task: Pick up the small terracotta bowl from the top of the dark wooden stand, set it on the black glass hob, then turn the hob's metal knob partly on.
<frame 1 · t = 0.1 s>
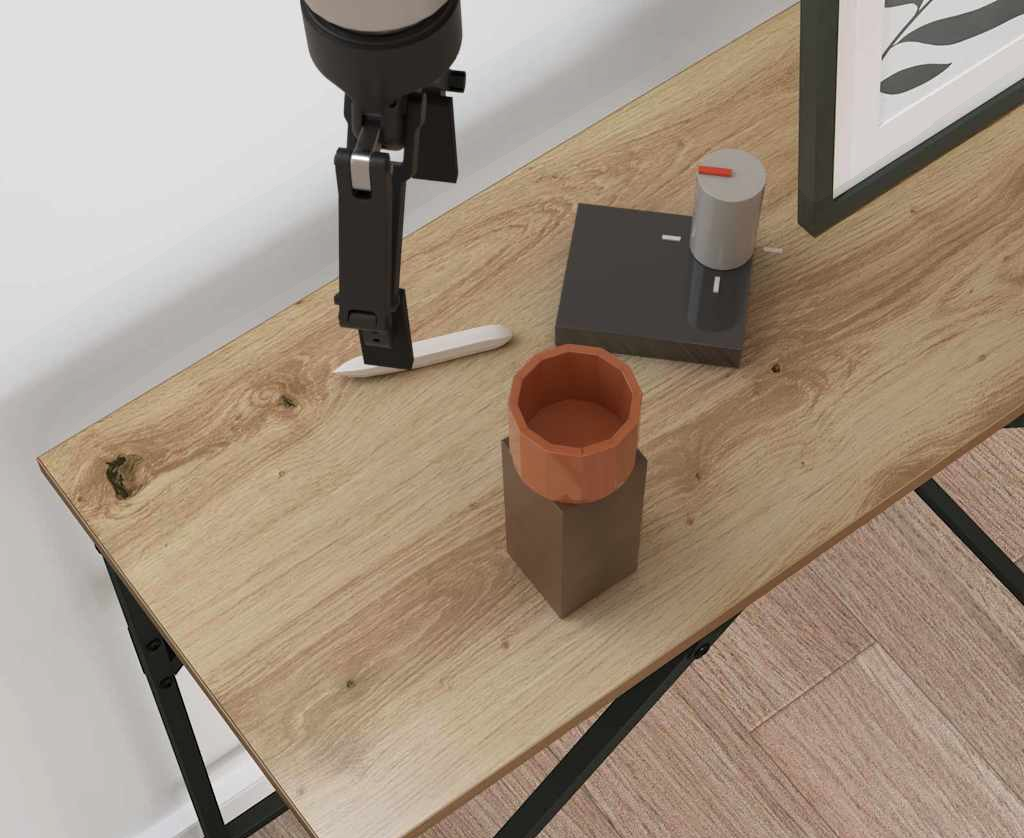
hand: (413, 266, 94), 26 cm above the table, tool pointing down, fingers open, 13 cm apart
knob: (727, 209, 120), point 7 cm above the table, hinge at 0.0°
bowl: (574, 449, 101), point 15 cm above the table, touching stand
stove: (656, 293, 125), on the table
pen: (424, 361, 123), on the table
stand: (571, 560, 114), on the table
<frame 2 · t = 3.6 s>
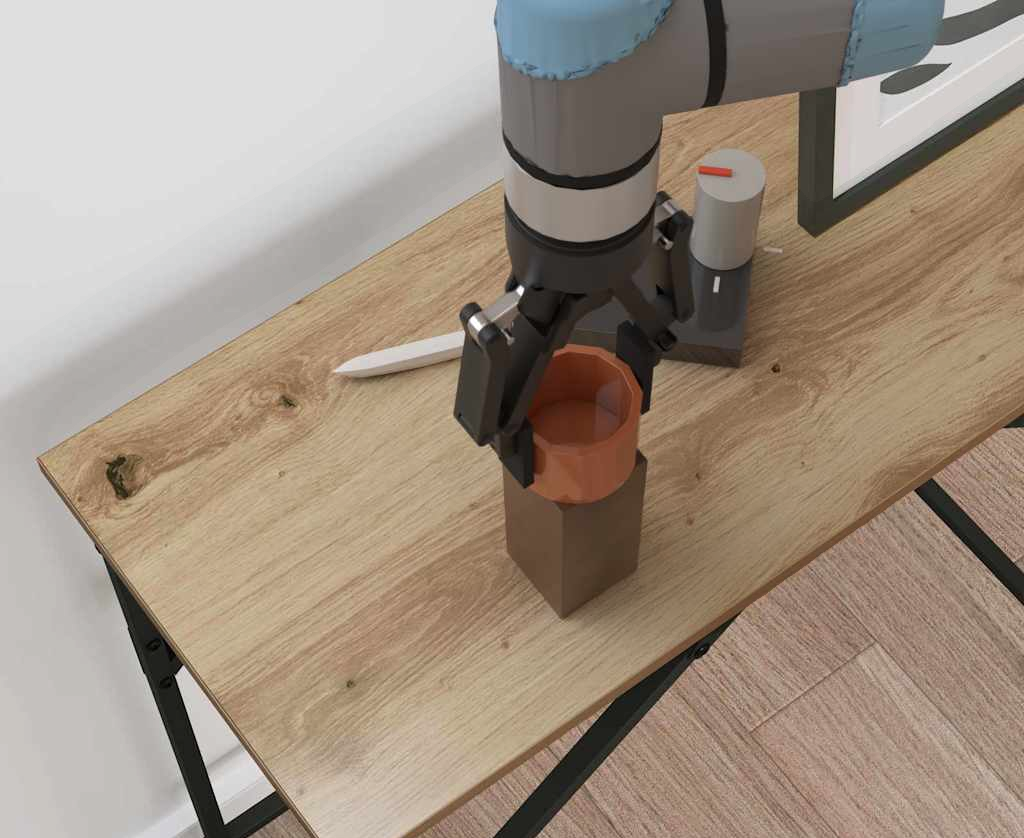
hand: (574, 434, 99), 17 cm above the table, tool pointing down, fingers closed on bowl, 8 cm apart
bowl: (574, 449, 101), point 15 cm above the table, touching gripper, stand
everything else where it was.
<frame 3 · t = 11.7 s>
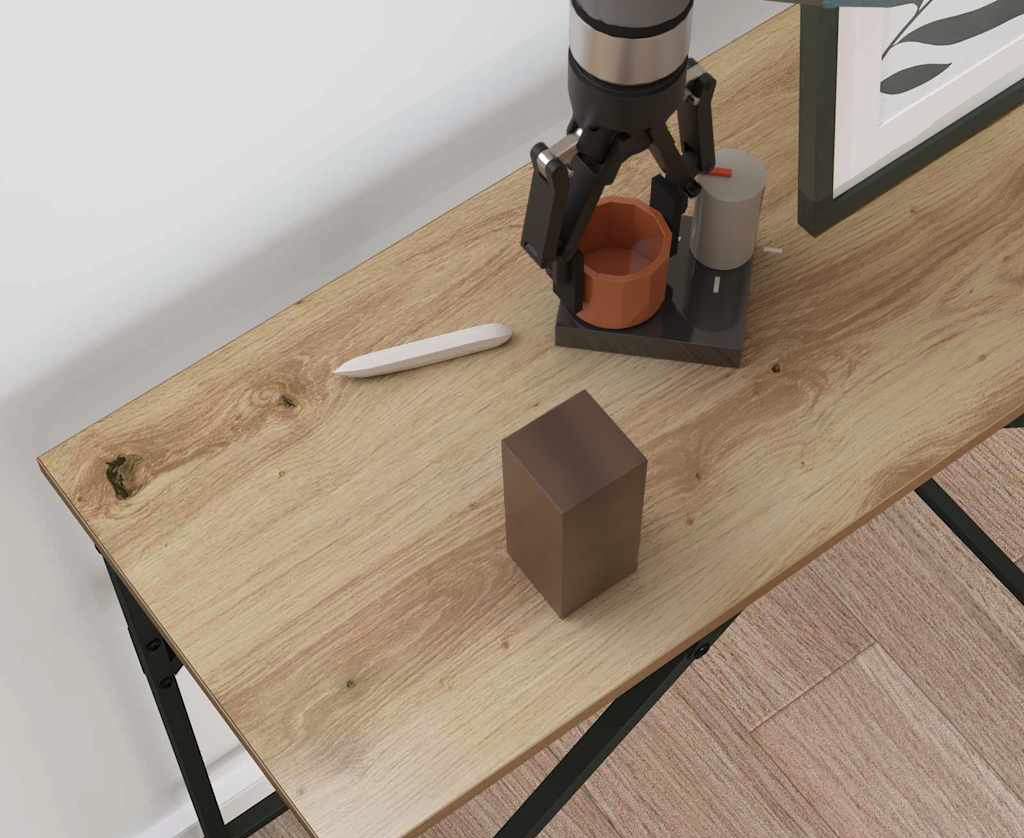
hand: (615, 272, 120), 5 cm above the table, tool pointing down, fingers closed on bowl, 8 cm apart
knob: (727, 209, 120), point 7 cm above the table, hinge at -0.1°, touching gripper
bowl: (614, 287, 122), point 3 cm above the table, touching gripper
everything else where it was.
when the fingers open (6 cm above the table, at t = 18.0 s): bowl drops 1 cm, resting on stove.
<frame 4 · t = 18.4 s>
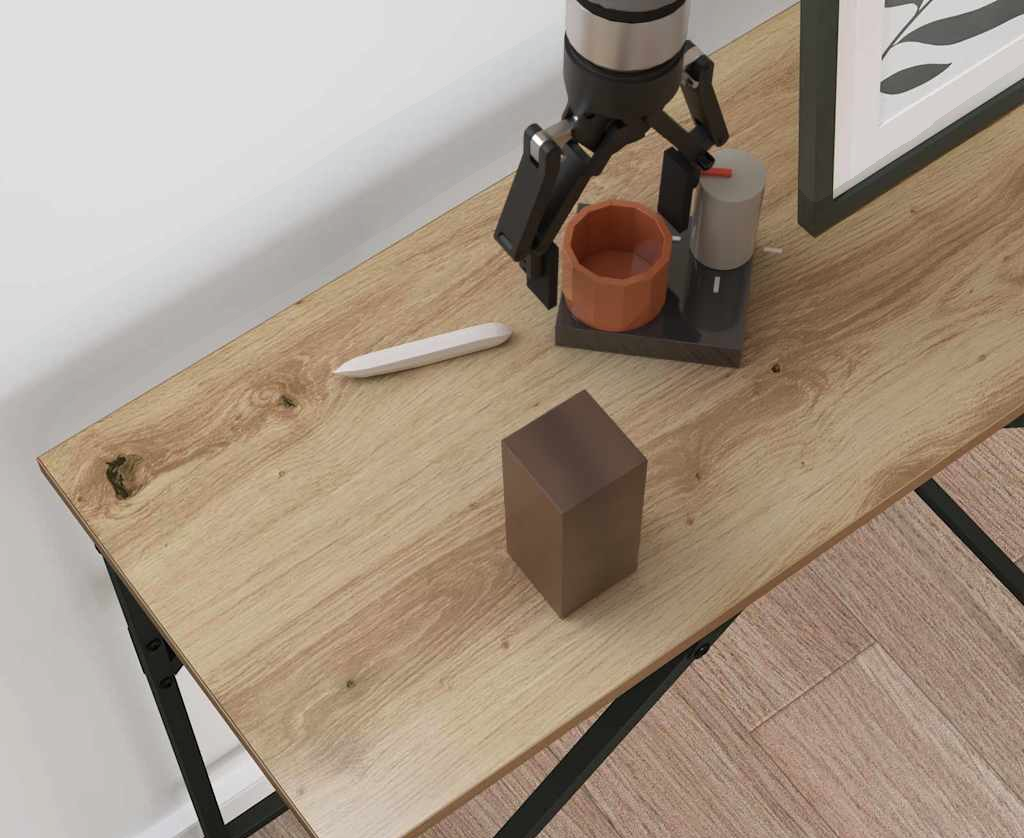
hand: (607, 257, 118), 7 cm above the table, tool pointing down, fingers open, 11 cm apart
knob: (727, 209, 120), point 7 cm above the table, hinge at 2.0°, touching gripper
bowl: (614, 290, 122), point 3 cm above the table, touching stove
everything else where it was.
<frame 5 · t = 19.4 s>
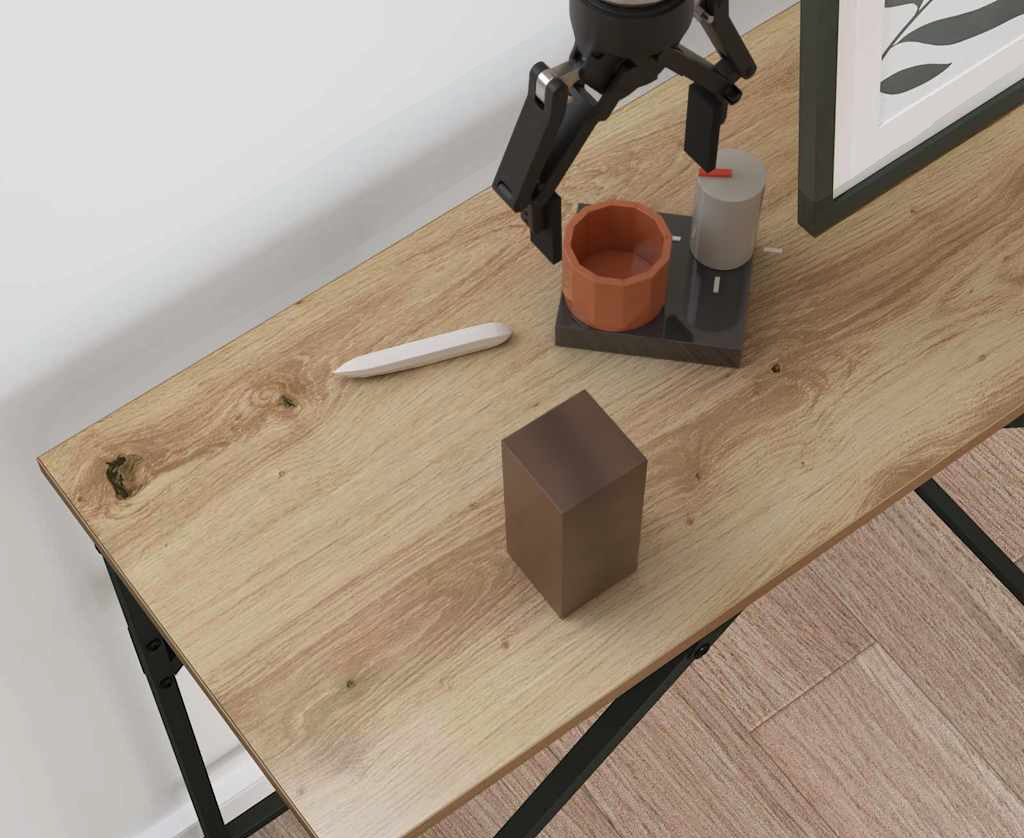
hand: (624, 204, 113), 13 cm above the table, tool pointing down, fingers open, 13 cm apart
knob: (727, 209, 120), point 7 cm above the table, hinge at 6.1°
everything else where it was.
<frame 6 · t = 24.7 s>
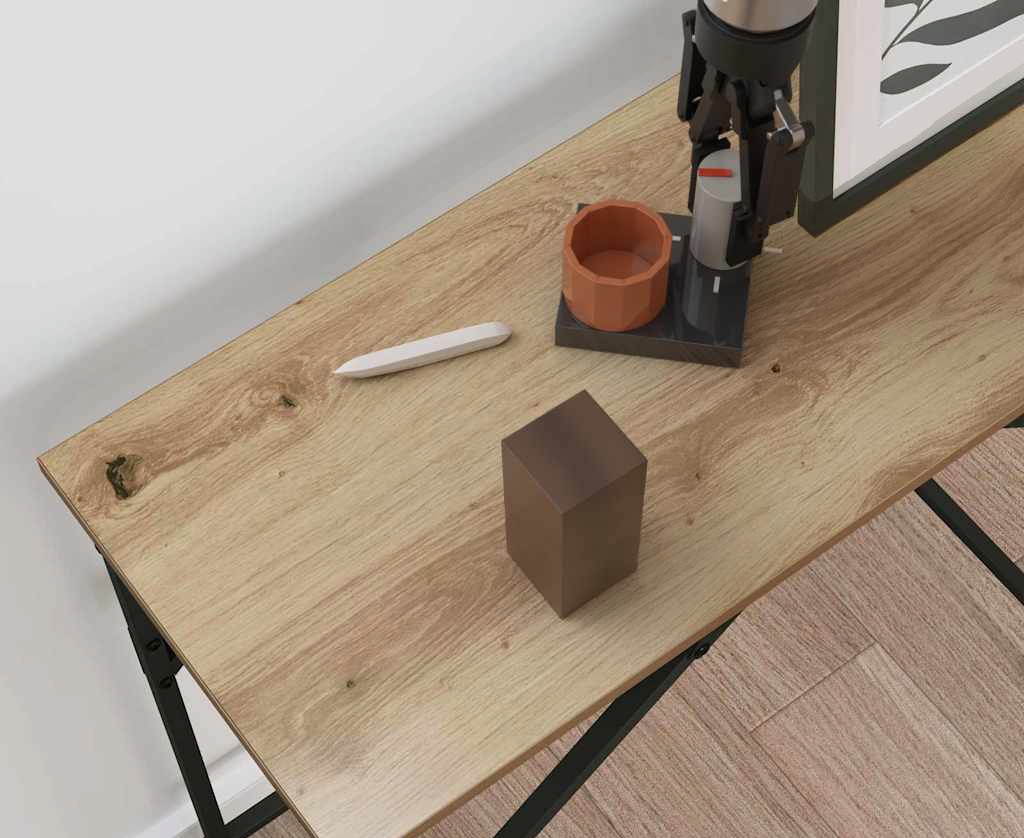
hand: (724, 230, 122), 4 cm above the table, tool pointing down, fingers closed on knob, 5 cm apart
knob: (727, 209, 120), point 7 cm above the table, hinge at 6.0°, touching gripper
everything else where it was.
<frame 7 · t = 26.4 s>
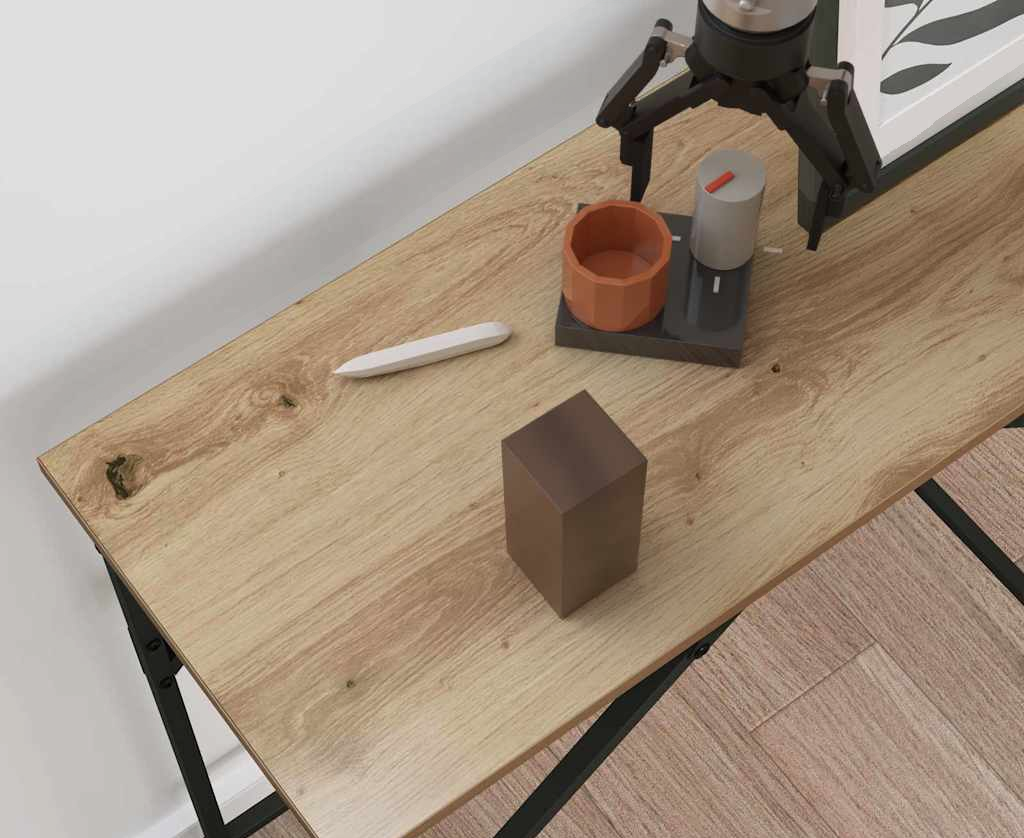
hand: (726, 214, 121), 6 cm above the table, tool pointing down, fingers open, 13 cm apart
knob: (727, 209, 120), point 7 cm above the table, hinge at 49.1°
everything else where it was.
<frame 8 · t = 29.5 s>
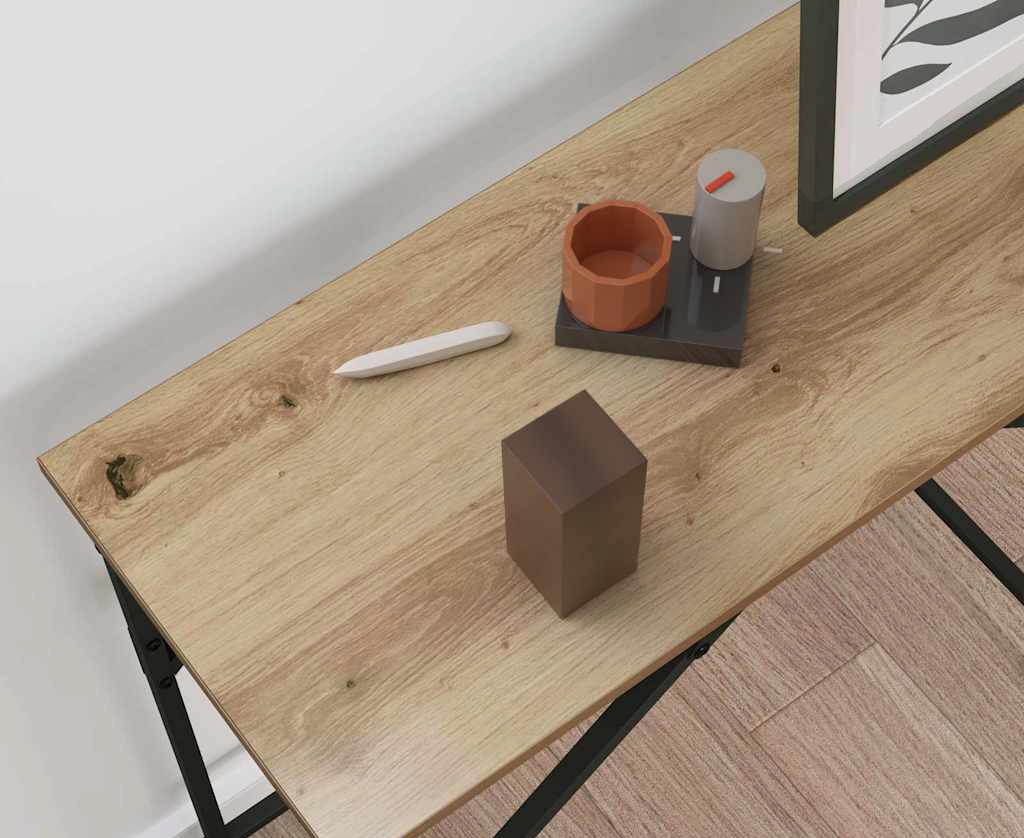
nothing on the table moved.
at the end: bowl 0.0 cm from the target spot on the stove, point 2.5 cm above the stove's base; bowl tilted 0°; knob at +49° (first picture: +0°) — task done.
